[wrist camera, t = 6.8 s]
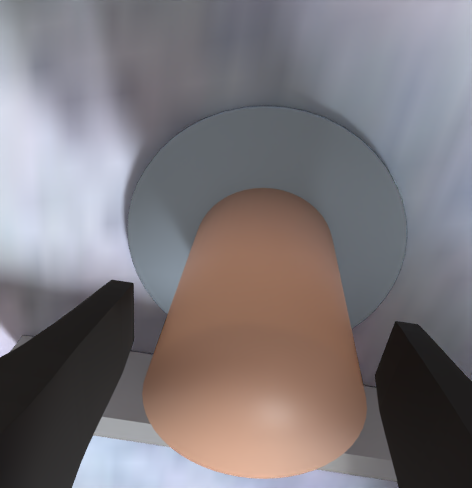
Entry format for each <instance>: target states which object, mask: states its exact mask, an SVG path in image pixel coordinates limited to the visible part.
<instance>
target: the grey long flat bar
mask: <svg viewBox="0 0 472 488" xmlns="http://www.w3.org/2000/svg"><path fill="white" fill-rule="evenodd" d="M32 338H33V337H31V336H24V335H23V336H22V337H21V338H20V340H19V341H18V342H17V344H16V345H15V346H14V347H13V349H12V350H11V351H13V350H14V349H16V348H18V347H19V346H21V345H23V344H24V343H26V342H27V341H29V340H30V339H32ZM11 351H10V352H11ZM152 357H153V354H146V353H139V352H132V351H130V353H129V357H128V359H127V362H126V365H125V368H124V371H123V373H122V376H121V378H120V380H119V382H118V384H117V386H116V388H115V390H114V393H113V395H112V397H111V399H110V401H109V403H108V405H107V407H106V409H105V411H104V413H103V416H102V418H101V420H100V422H99V424H98V426H97V428H96V430H95V432H94V434H93V435H94V436H101V437H107V438H114V439H120V440H127V441H133V442H140V443H146V444H153V445H160V446H166V447H170V446H169V445H168V444H166V443H165V442H164V441H163V440H162V439H161V437H160V436H159V435H158V434H157V433H156V432H155V430H154V428H153V427H152V425H151V424H150V422H149V420H148V418H147V415H146V413H145V409H144V405H143V397H142V391H143V383H144V380H145V377H146V373H147V371H148V368H149V365H150V362H151V359H152ZM364 390H365V395H366V403H367V413H366V420H365V423H364V426H363V429H362V431H361V433H360V435H359V437H358V438H357V440H356V441H355V442H354V443H353V445H352V446H351V447H350V448H349V449H348V450H347V451H346V452H345V453H344V454H342V455H341V456H340V457H338V458H337V459H336V460H334V461H332V462H330V463H329V464H327V465H325V466H323V467H320V468H318V469H317V470H323V471H330V472H336V473H343V474H349V475H356V476H363V477H369V478H376V479H382V480H389V481H395V482H397V478H396V474H395V471H394V467H393V463H392V459H391V455H390V451H389V448H388V444H387V440H386V436H385V432H384V428H383V424H382V420H381V416H380V412H379V405H378V398H377V389H376V387H369V386H364Z"/></svg>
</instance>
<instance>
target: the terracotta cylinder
mask: <svg viewBox="0 0 472 488" xmlns="http://www.w3.org/2000/svg"><path fill="white" fill-rule="evenodd" d="M142 397H143V405H144V409H145V413H146V415H147V418H148V420H149V422H150V424H151V425H152V427H153V428H154V430H155V432H156V433H157V434H158V435H159V436H160V437H161V439H162V440H163V441H164V442H165V443H166V444H168V445H169V446H170V447H171V448H172V449H173V450H175V451H176V452H178V453H179V454H180V455H182V456H184V457H185V458H187V459H189V460H190V461H192V462H194V463H196V464H199V465H201V466H203V467H206V468H208V469H211V470H214V471H217V472H221V473H224V474H228V475H233V476H238V477H247V478H262V479H267V478H282V477H290V476H295V475H299V474H304V473H307V472H310V471H313V470H316V469H318V468H320V467H323V466H325V465H327V464H329V463H330V462H332V461H334V460H336V459H337V458H338V457H340V456H341V455H342V454H344V453H345V452H346V451H347V450H348V449H349V448H350V447H351V446H352V445H353V443H354V442H355V441H356V440H357V438H358V437H359V435H360V433H361V431H362V429H363V426H364V423H365V420H366V413H367V403H366V395H365V390H364V386H363V381H362V376H361V372H360V367H359V362H358V357H357V353H356V348H355V343H354V338H353V334H352V329H351V324H350V320H349V315H348V310H347V305H346V301H345V296H344V291H343V286H342V282H341V277H340V272H339V268H338V263H337V258H336V253H335V249H334V244H333V239H332V235H331V232H330V229H329V227H328V225H327V223H326V221H325V220H324V218H323V216H322V215H321V214H320V213H319V212H318V211H317V209H316V208H314V207H313V206H312V205H311V204H310V203H308V202H307V201H305V200H304V199H302V198H301V197H299V196H297V195H295V194H292V193H289V192H286V191H283V190H278V189H272V188H253V189H247V190H243V191H239V192H236V193H234V194H232V195H229V196H227V197H226V198H224V199H222V200H221V201H219V202H218V203H217V204H216V205H214V206H213V207H212V208H211V209H210V210H209V211H208V212H207V214H206V215H205V217H204V218H203V220H202V222H201V224H200V226H199V228H198V231H197V234H196V236H195V239H194V242H193V245H192V248H191V250H190V253H189V256H188V259H187V262H186V264H185V267H184V270H183V273H182V276H181V278H180V281H179V284H178V287H177V290H176V292H175V295H174V298H173V301H172V304H171V306H170V309H169V312H168V315H167V318H166V320H165V323H164V326H163V329H162V332H161V334H160V337H159V340H158V343H157V345H156V348H155V351H154V354H153V357H152V359H151V362H150V365H149V368H148V371H147V373H146V377H145V380H144V383H143V391H142Z"/></svg>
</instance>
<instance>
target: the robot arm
mask: <svg viewBox="0 0 472 488" xmlns="http://www.w3.org/2000/svg"><path fill="white" fill-rule="evenodd" d="M133 341H134V283H130V282H123V281H116V280H111V281H110V282H108V283H107V284H106V285H104V286H103V287H102V288H100V289H99V290H98V291H96V292H95V293H94V294H93V295H91V296H90V297H89V298H87V299H86V300H85V301H84V302H82V303H81V304H80V305H78V306H77V307H76V308H74V309H73V310H72V311H70V312H69V313H68V314H66V315H65V316H64V317H62V318H61V319H59V320H58V321H57V322H55V323H54V324H53V325H51V326H50V327H48V328H47V329H45V330H44V331H42V332H41V333H39V334H38V335H36V336H35V337H33V338H32V339H30V340H29V341H27V342H26V343H24V344H23V345H21V346H19V347H18V348H16V349H14V350H13V351H11V352H9V353H7V354H6V355H4V356H2V357H0V488H72V486H73V483H74V480H75V477H76V475H77V472H78V469H79V466H80V464H81V461H82V459H83V456H84V454H85V452H86V449H87V447H88V445H89V443H90V441H91V438H92V436H93V434H94V432H95V430H96V428H97V426H98V424H99V422H100V420H101V418H102V416H103V413H104V411H105V409H106V407H107V405H108V403H109V401H110V399H111V397H112V395H113V393H114V390H115V388H116V386H117V384H118V382H119V380H120V378H121V376H122V373H123V371H124V368H125V365H126V362H127V359H128V357H129V353H130V350H131V347H132V344H133ZM375 380H376V389H377V398H378V405H379V412H380V416H381V420H382V424H383V428H384V432H385V436H386V440H387V444H388V448H389V451H390V455H391V459H392V463H393V467H394V471H395V474H396V478H397V482H398V486H399V488H472V381H471V380H470V379H469V378H468V377H467V376H466V375H465V374H464V373H463V372H462V371H461V370H460V369H459V368H458V367H457V366H456V365H455V363H454V362H453V361H452V360H451V359H450V358H449V357H448V356H447V355H446V354H445V353H444V351H443V350H442V349H441V348H440V347H439V346H438V345H437V344H436V343H435V342H434V341H433V339H432V338H431V337H430V336H429V335H428V334H427V333H426V332H425V331H424V330H423V329H422V328H421V327H420V326H419V325H418V324H411V323H404V322H398V321H395V324H394V326H393V329H392V332H391V334H390V337H389V340H388V342H387V345H386V347H385V350H384V353H383V355H382V358H381V361H380V363H379V366H378V369H377V371H376V374H375Z"/></svg>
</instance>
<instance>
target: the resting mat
mask: <svg viewBox="0 0 472 488" xmlns="http://www.w3.org/2000/svg"><path fill="white" fill-rule="evenodd" d="M253 188H272V189H278V190H283V191H286V192H289V193H292V194H295V195H297V196H299V197H301V198H302V199H304V200H305V201H307V202H308V203H310V204H311V205H312V206H313V207H314V208H316V209H317V211H318V212H319V213H320V214H321V215H322V216H323V218H324V220H325V221H326V223H327V225H328V227H329V229H330V232H331V235H332V239H333V244H334V249H335V253H336V258H337V263H338V268H339V272H340V277H341V282H342V286H343V291H344V296H345V301H346V305H347V310H348V315H349V320H350V324H351V329H353V328H354V327H355V326H357V325H358V324H360V323H361V322H362V321H364V320H365V319H366V318H367V317H368V316H369V315H370V314H371V313H372V312H373V311H375V310H376V308H377V307H378V306H379V305H380V304H381V302H382V301H383V300H384V299H385V298H386V296H387V295H388V293H389V291H390V290H391V288H392V287H393V285H394V283H395V281H396V279H397V277H398V274H399V272H400V270H401V267H402V263H403V259H404V256H405V251H406V242H407V221H406V215H405V210H404V205H403V202H402V199H401V196H400V194H399V191H398V188H397V186H396V184H395V182H394V181H393V179H392V177H391V175H390V173H389V172H388V170H387V168H386V167H385V165H384V164H383V163H382V161H381V160H380V159H379V158H378V156H377V155H376V154H375V152H374V151H373V150H371V149H370V148H369V147H368V146H367V145H366V144H365V143H364V142H363V141H362V140H361V139H360V138H358V137H357V136H356V135H354V134H353V133H351V132H350V131H349V130H347V129H346V128H344V127H342V126H341V125H339V124H337V123H335V122H333V121H331V120H329V119H327V118H324V117H322V116H319V115H316V114H313V113H310V112H307V111H303V110H298V109H293V108H288V107H278V106H253V107H242V108H238V109H233V110H228V111H224V112H221V113H218V114H215V115H212V116H209V117H207V118H204V119H202V120H200V121H198V122H197V123H195V124H193V125H191V126H189V127H187V128H186V129H184V130H183V131H182V132H180V133H179V134H177V135H176V136H175V137H173V138H172V139H171V140H170V141H169V142H168V143H167V144H166V145H165V146H164V147H163V148H162V149H161V150H160V151H159V152H158V153H157V154H156V156H155V157H154V158H153V160H152V161H151V162H150V163H149V165H148V166H147V167H146V169H145V170H144V172H143V174H142V176H141V178H140V179H139V181H138V183H137V186H136V188H135V191H134V194H133V196H132V199H131V204H130V208H129V213H128V227H127V233H128V244H129V249H130V254H131V258H132V262H133V264H134V267H135V269H136V272H137V274H138V276H139V278H140V280H141V282H142V284H143V286H144V287H145V289H146V290H147V292H148V293H149V295H150V296H151V297H152V299H153V300H154V301H155V302H156V303H157V304H158V306H159V307H160V308H161V309H162V310H163V311H164V312H165V313H166V314H167V315H168V312H169V309H170V306H171V304H172V301H173V298H174V295H175V292H176V290H177V287H178V284H179V281H180V278H181V276H182V273H183V270H184V267H185V264H186V262H187V259H188V256H189V253H190V250H191V248H192V245H193V242H194V239H195V236H196V234H197V231H198V228H199V226H200V224H201V222H202V220H203V218H204V217H205V215H206V214H207V212H208V211H209V210H210V209H211V208H212V207H213V206H214V205H216V204H217V203H218V202H219V201H221V200H222V199H224V198H226V197H227V196H229V195H232V194H234V193H236V192H239V191H243V190H247V189H253Z"/></svg>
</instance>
